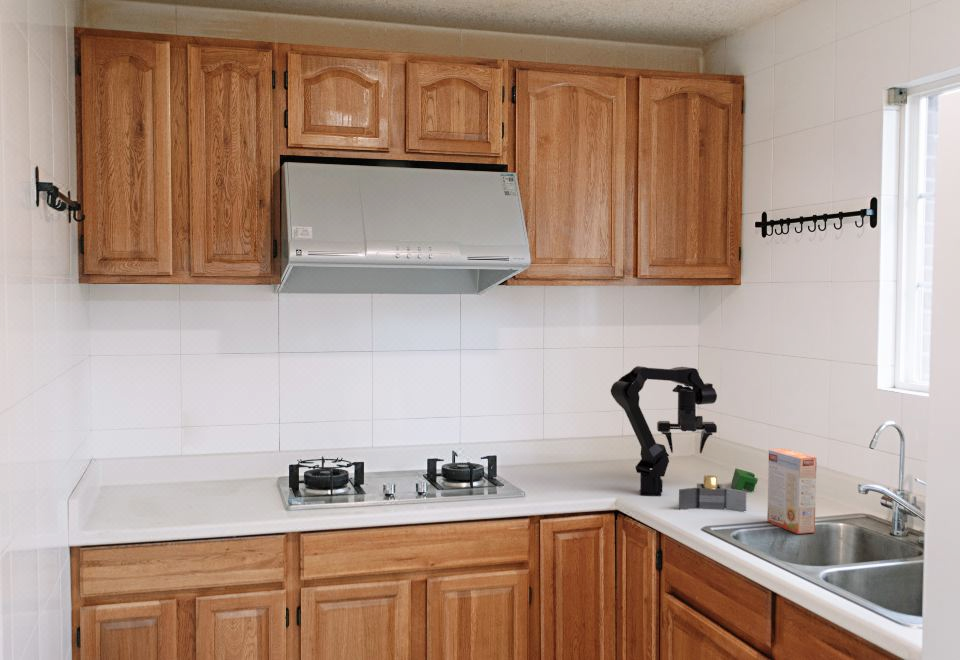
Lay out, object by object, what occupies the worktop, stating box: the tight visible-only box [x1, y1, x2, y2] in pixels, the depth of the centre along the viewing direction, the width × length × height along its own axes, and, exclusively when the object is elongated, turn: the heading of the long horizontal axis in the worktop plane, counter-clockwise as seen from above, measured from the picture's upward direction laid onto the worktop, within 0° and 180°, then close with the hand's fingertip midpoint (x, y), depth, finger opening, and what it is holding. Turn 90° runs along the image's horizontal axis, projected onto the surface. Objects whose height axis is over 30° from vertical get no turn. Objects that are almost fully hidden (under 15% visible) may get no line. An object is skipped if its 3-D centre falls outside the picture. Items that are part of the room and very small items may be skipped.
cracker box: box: [766, 448, 817, 535], centre depth 248 cm, size 14×6×21 cm, turn 17°
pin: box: [703, 474, 718, 489], centre depth 272 cm, size 4×4×9 cm
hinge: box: [678, 482, 748, 512], centre depth 271 cm, size 20×10×6 cm, turn 83°
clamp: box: [731, 467, 759, 492], centre depth 295 cm, size 12×6×9 cm, turn 165°
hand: (686, 452), depth 294 cm, fingers open, 9 cm apart
